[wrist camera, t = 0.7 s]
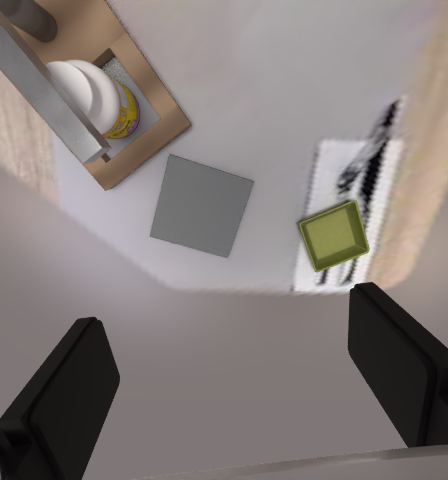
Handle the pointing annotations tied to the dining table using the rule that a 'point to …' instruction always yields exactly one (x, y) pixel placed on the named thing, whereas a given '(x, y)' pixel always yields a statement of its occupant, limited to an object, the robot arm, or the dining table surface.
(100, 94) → the supplement bottle
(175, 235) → the coaster pad
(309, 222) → the olive square tray
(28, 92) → the retention bar
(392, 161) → the dining table surface
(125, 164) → the collar stand
